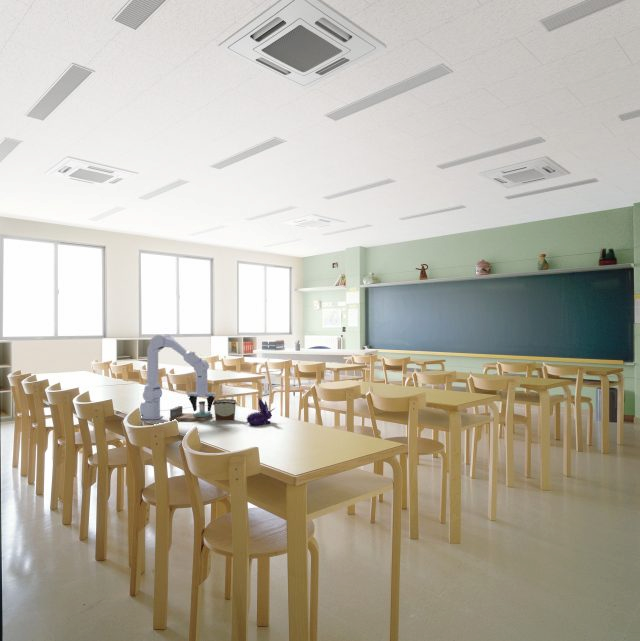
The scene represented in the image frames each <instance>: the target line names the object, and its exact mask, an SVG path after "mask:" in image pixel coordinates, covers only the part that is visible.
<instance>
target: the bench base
mask: <svg viewBox="0 0 640 641" xmlns="http://www.w3.org/2000/svg"><path fill="white" fill-rule="evenodd" d="M193 414H196V412H195V413H190V412H186V413H183V406H182V405H178V406H175V407H174V408H173V407H172V408H170V409H169V417H168V418H169V419H168V420H174V419H176V420H178V421H177V422H195V421H199V422H200V423H201V422H202V423H203V422H206V421H207V420H209V419H211V418H213V413H211V414H210V415H208V416H206V417H194V416H193Z"/></svg>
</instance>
